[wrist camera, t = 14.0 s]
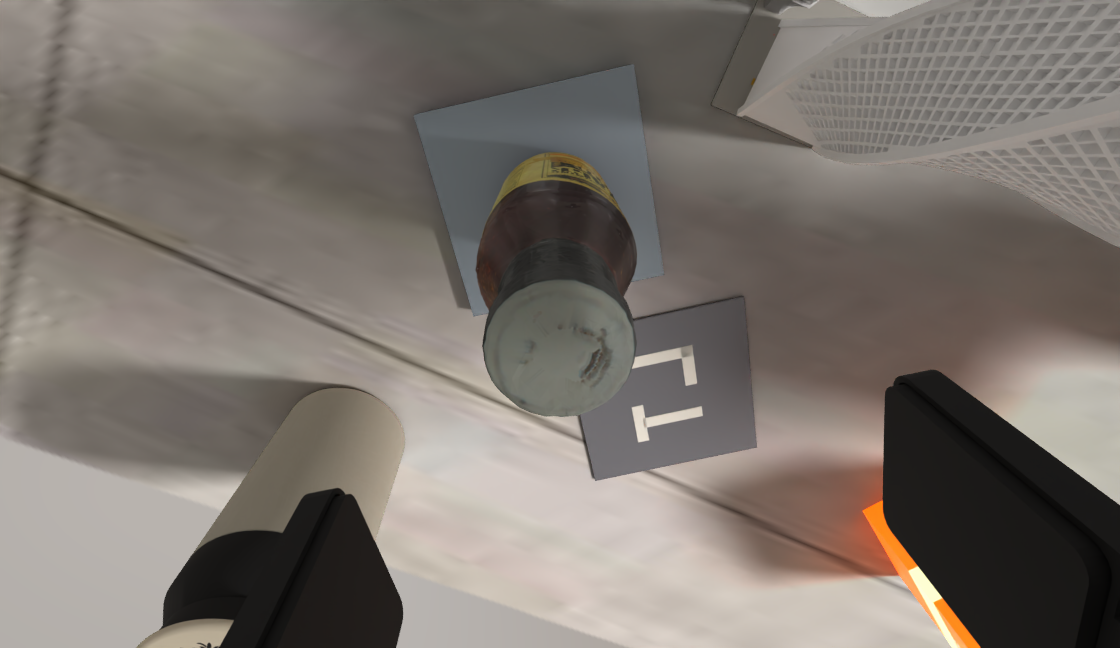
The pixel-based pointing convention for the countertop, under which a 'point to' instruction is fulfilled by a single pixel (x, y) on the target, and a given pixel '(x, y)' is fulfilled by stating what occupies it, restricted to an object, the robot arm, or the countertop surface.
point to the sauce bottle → (557, 288)
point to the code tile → (678, 394)
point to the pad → (534, 128)
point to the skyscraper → (947, 92)
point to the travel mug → (282, 507)
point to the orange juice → (919, 582)
